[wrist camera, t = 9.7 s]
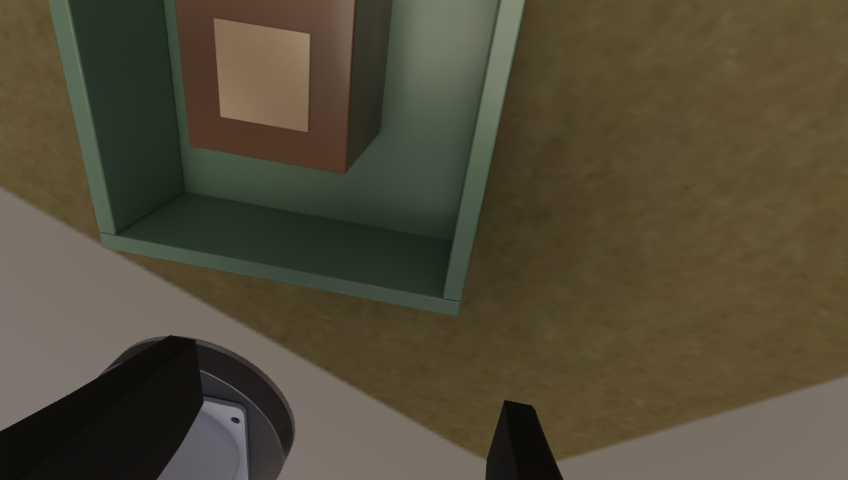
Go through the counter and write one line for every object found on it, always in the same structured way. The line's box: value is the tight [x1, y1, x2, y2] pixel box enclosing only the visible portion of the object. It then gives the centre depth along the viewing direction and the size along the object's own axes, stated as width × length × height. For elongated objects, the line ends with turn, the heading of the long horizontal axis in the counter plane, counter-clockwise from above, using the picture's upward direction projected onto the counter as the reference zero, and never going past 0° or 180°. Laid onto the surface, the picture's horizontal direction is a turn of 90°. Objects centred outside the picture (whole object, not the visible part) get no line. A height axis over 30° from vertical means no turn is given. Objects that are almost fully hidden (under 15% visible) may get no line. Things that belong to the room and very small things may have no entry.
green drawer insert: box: [48, 0, 526, 316], centre depth 14 cm, size 13×12×5 cm
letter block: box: [175, 0, 393, 174], centre depth 14 cm, size 4×4×5 cm
